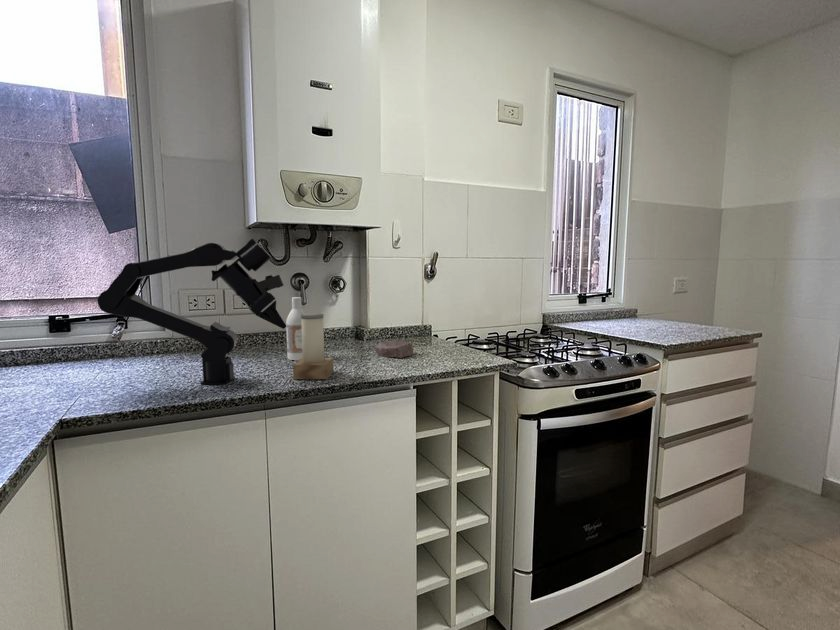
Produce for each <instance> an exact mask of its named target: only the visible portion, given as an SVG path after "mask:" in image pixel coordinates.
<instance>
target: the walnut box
mask: <svg viewBox="0 0 840 630" xmlns="http://www.w3.org/2000/svg"><path fill="white" fill-rule="evenodd" d="M292 371H293V373H292V374H293V376H292V377H293V380H294V379H327V380H329V378H330V377H331V376H332V374H333V373H334V372H335V371H334V357H324V362H321V363H315V364H307V363H303V358H301V359H300V360H299V361H296V362H295V363H294V364H293V365H292ZM332 372H333V373H332ZM329 376H330V377H329ZM328 377H329V378H328Z"/></svg>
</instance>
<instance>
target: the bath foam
mask: <svg viewBox="0 0 840 630" xmlns="http://www.w3.org/2000/svg"><path fill="white" fill-rule="evenodd" d="M291 307H292V308H291V310H290V312H289V314H288V316H287V317H286V323H285V324H286V327H285V330H286V331H285V333H286V352H287V353H286V355H287V359H288V360H289V361H292V360H294V362H295V361H296V362H297V361H299V360H300V359H301V358H303V352H302V322H301V315H302V314H306V313H305V311H304V310H303V306H302V297H300V296H293V297H291Z"/></svg>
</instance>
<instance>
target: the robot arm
mask: <svg viewBox="0 0 840 630" xmlns="http://www.w3.org/2000/svg"><path fill="white" fill-rule="evenodd" d="M270 260H272V256H271V255H270V254H269V253H268V251H266V249H265V248H264V247H262V246H261V245H260V244H259V243H258V242H257V241H256V240H255V239H254V238H251V239H249V241H247V243H246V244H245V245H244V246H242V247H241V248H240V249H239V250H238V251H236V250H229V249H228V250H227V248H226V247H224V245H221V244H219V243H214V242H207V243H205V244H202V245H199V246H197V247H194V248H192V249H190V250H188V251H186V252H183V253H177V254H172V255H167V256H162V257H158V258H153V259H149V260H144V261H138V262H128V263H126V264H125V265H124V266H123V268H122V270H121V271H120V273H119V274H118V275H117V277H115V279H114V280H113V281H112V282H111V283H110V285H109V286H108V288H107V289H106V290H104V291H102V292H100V294H99V295H98V298H97V304H98V308H99V309H100V310H101V311H102V312H104V313H106V314H110V315H115V316H120V317H125V318H135V319H139V320H141V321H145V322H148V323H149V324H153V325H155V326H158V327H161V328H163V329H166V330H169V331H171V332H174V333H177V334H179V335H182V336H184V337H188V338H190V339H193V340H195V341H197V342H198V343H199V344H200V345H202V346H203V347H204V348H205V350H203V352H202V353H201V354H200V357H201V360H202V361H201V363H202V379H203V380H201V381H200V385H225V384H228V383H229V382H231V381H232V380H234V379H235V378H236V377H235V373H234V371H235V370H234V362H232V357H231V356H228V355H229V354H230V353H231V352H232V351H233V349H234V348H235V347H236V345H237V343H238V336H237V335H236V333H235V332H234V331H233V330H232V329H231V326H225V325H222V324H220V323H219V322H217V321H215V322H213V323H212V324H210V325H205V324H202V323H199V322H197V321H194V320H191V319H189V318H187V317H184V316H181V315H178V314H176V313H173V312H171V311H169V310H166V309H163V308H161V307H159V306H155V305H153V304H150V303H148V302H147V301H146V300H144V299H143V298H142V297H140V296H139V295H138V294H136V293H138V290H139V288H140V285H141V283H142V281H143V279H144V278H145V277H150V276H154V275H159V274H163V273H168V272H173V271H174V272H175V271H178V270H184V269H186V268H187V269H188V268H195V267H196V268H197V267H215V266H216V267H217V266H221V267H220V268H218V269H217V270H211V281H212V282H215V281H217V280H218V279H221V280H222V281H223V282H224V283H225V284H226V285H227V286H228V287H229V289H231V290H232V291H233V293H235V295H236V296H237V297H238V298H240V299H241V300H242V302H243V303H244V304H245V305H246V306H247V307H248V309H249V311H250V312H251V313H252V314H253V315H254V316H256V317H258V318H260V319H262V320H264V321H266V322H268V323H271V324H272V325H275V326H277V327H279V328H281V329H283V330H284V329H286V323H285V321H284V319H283V318H282V317H281V315H280V313H279V311H278V310H277V299H276V298H275V296H274V295H273V293H272V292H269V291H271V290H274V289H276V288H277V289H279V288H281V287H283V286H285V284H284V283H283V280H282V278H281V275H280V274H276V275H274V276H273V275H272V274H269V275H266V276H265V278H264V279H263V280H260V281H258V280H257V279H256V278H253V277H252V276H251V275H250V274H249V273H248V272H251V271H254V272H257V271H258V270H259V269H261V267H263V266H264V265H265V264H266V263H268V262H269V261H270ZM227 261H233V263H231V264H227V263H226V262H227ZM239 263H240V264H241V265H242V266H241V265H240V264H239ZM243 267H244V268H245V269H246V270H247V271H248V272H247V271H246V270H245V269H244V268H243Z"/></svg>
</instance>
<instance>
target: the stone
mask: <svg viewBox="0 0 840 630" xmlns="http://www.w3.org/2000/svg"><path fill="white" fill-rule="evenodd" d="M374 351H375V353H376V354H377V356H378V357H383V358H395V359H396V358H397V359H401V358H406V357H411V356H413V354H414V348H413V342H408V341H402V340H401V339H398V340H396V339H395V340H386V341H383V342H380V343H378V344H377V345H376V346H374Z"/></svg>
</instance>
